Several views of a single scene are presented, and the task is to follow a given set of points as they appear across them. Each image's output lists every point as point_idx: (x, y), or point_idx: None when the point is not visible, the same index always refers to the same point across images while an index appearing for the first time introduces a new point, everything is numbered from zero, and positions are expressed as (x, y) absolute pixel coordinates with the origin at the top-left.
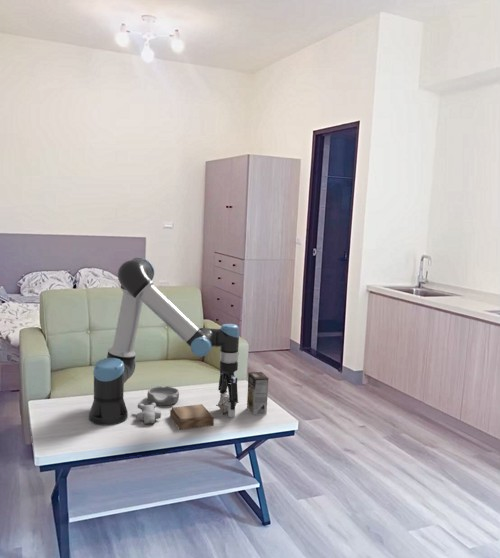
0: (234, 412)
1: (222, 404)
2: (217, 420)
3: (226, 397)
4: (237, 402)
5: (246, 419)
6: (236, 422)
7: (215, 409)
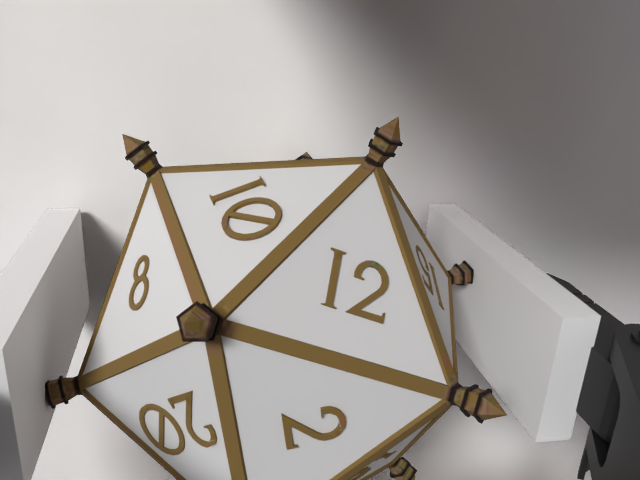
0: (479, 230)
1: (407, 471)
2: (458, 434)
3: (365, 461)
4: (389, 150)
5: (606, 72)
6: (616, 246)
7: (78, 371)
